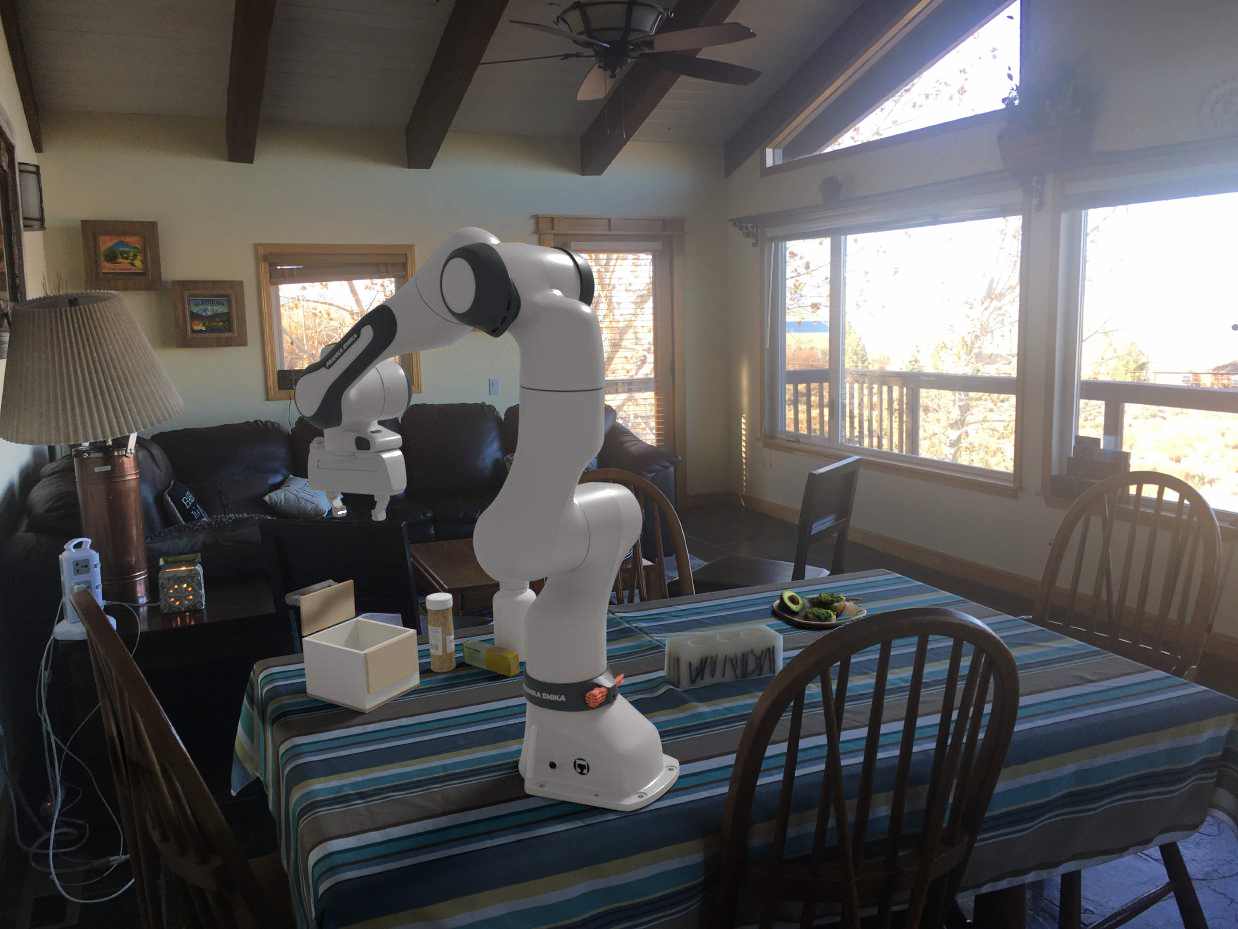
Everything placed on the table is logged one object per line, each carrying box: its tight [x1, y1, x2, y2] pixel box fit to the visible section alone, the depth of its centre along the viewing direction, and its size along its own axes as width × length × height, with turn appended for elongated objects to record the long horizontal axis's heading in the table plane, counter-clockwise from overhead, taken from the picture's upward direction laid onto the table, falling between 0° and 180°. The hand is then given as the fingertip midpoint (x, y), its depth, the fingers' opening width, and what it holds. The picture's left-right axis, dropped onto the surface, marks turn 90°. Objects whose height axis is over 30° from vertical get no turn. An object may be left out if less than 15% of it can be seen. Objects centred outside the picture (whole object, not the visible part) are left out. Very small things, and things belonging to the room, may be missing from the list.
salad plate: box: [771, 589, 868, 630], centre depth 189 cm, size 19×18×5 cm
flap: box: [284, 579, 356, 637], centre depth 159 cm, size 7×11×6 cm
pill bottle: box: [492, 581, 537, 663], centre depth 169 cm, size 8×8×15 cm
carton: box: [301, 617, 421, 714], centre depth 155 cm, size 15×12×10 cm
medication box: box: [461, 638, 521, 677], centre depth 165 cm, size 12×3×4 cm, turn 52°
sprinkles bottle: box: [425, 592, 457, 673], centre depth 164 cm, size 5×5×13 cm
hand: (359, 518), depth 158 cm, fingers open, 8 cm apart
